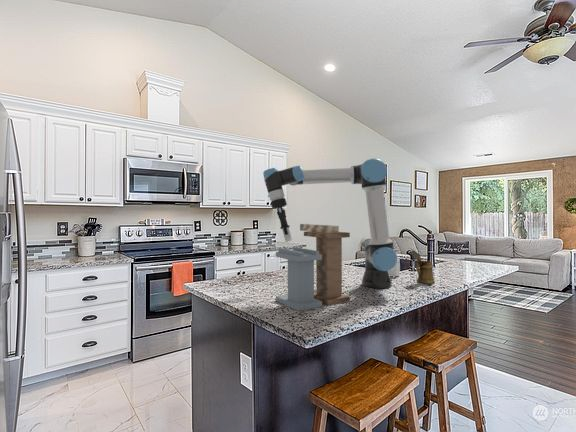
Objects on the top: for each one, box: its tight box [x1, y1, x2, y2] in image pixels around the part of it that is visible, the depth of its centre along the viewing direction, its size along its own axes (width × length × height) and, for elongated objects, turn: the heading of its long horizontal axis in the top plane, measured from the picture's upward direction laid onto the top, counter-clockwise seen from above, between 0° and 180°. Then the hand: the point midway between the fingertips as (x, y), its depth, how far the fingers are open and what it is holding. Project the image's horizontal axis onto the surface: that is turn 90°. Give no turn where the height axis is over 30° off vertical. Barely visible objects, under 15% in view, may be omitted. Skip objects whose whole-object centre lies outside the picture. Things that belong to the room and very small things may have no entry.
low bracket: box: [275, 246, 323, 312], centre depth 143 cm, size 18×12×23 cm, turn 31°
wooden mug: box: [410, 249, 436, 285], centre depth 184 cm, size 9×14×18 cm, turn 108°
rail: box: [299, 223, 340, 233], centre depth 156 cm, size 26×3×3 cm, turn 31°
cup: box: [388, 258, 401, 277], centre depth 202 cm, size 8×12×10 cm
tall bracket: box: [303, 231, 351, 306], centre depth 151 cm, size 18×12×30 cm, turn 31°
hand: (289, 241), depth 165 cm, fingers open, 13 cm apart
